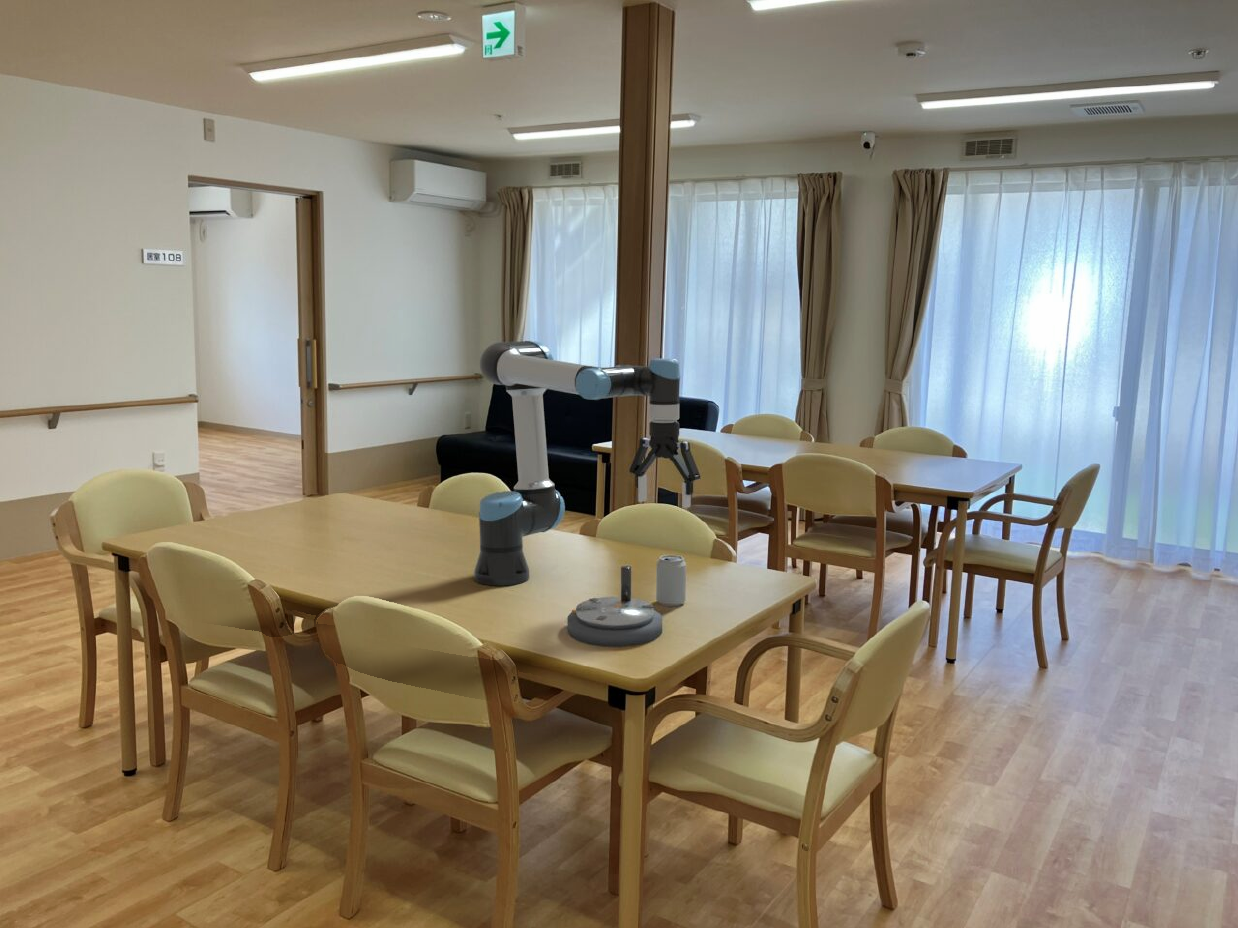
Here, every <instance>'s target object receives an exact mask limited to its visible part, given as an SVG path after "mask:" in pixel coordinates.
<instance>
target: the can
mask: <svg viewBox="0 0 1238 928" xmlns="http://www.w3.org/2000/svg"><path fill="white" fill-rule="evenodd" d="M658 559H659V560H658V561H657V562H656V581H655V582H656V590H655V591H656V592H655V593H656V596H655V598H656V599H655V600H656V601H657V603H659V605H661V606H664V607H678V606H682V605H683V604H684V603H685V602H686V600H687V599H686V597H687V596H686V594H687V593H686V590H687V589H686V588H687V585H686V584H687V563H686V562H685V561H684V560H685V558H684V557H683V556H682V555H677V554H664V555H661V556H659V558H658Z"/></svg>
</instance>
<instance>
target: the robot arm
mask: <svg viewBox="0 0 1238 928" xmlns="http://www.w3.org/2000/svg"><path fill="white" fill-rule="evenodd" d="M479 369H480V372H481V374H482V376H483V378H485V379H486V380H487V381H488V382H489V383H492V384H494V385H499V386H501V385H502V386H505V391H506V392H507V394H509V395H510V397H511V400H512V412H513V413H512V414H513V415H512V416H513V424H514V425H513V427H514V437H515V438H514V439H515V441H514V442H515V451H516V453H515V454H516V463H517V464H516V466H517V476H518V477H517V478H518V479H517V480H518V481H517V483H516V484H515V485H514V486H513V491H511V490H510V491H509V490H508V491H506V490H504V491H500V492H499V491H497V492H493V493H490V494H488V495H486V496H483V498H482V499H481V500H480V501H479V511H478V521H479V555H478V558H477V561H476V565H475V566H474V572H473V579H474V582H476V581H477V582H476V583H479V584H481V585H487V586H510V585H517V584H522V583H524V582H526V581H528V580H529V579H530V568H529V565H528V561H527V559H526V556H525V554H524V551H523V550H524V549H523V543H524V542H523V537H526V536H531V535H536V534H538V533H539V534H540V533H546V532H548V531H550V530H553V529H555V528H556V527H558V526H559V524H560V523H561V522H562V521H563V519H564V515H565V512H566V511H565V509H566V506H565V500H564V498H563V496H561V495H562V494H560V492H559V491H558V490H556V487H555V483H554V482H553V481H552V480H551V479H550V478H549V477H550V476H549V466H548V464H549V463H548V462H549V461H548V450H547V437H546V424H545V423H546V421H545V411H544V410H545V409H544V396H543V395H544V394H545V392H546V391H547V390H553V391H557V392H562V393H568V394H575V395H579V396H580V397H582V398H583V399H585V400H592V401H593V400H594V401H599V400H601V399H609V398H620V397H627V396H629V397H630V396H641V397H642V396H643V397H644V396H645V397H648V398H649V401H648V402H649V404H648V405H649V406H648V407H649V408H648V409H649V410H648V411H649V412H648V414H649V415H648V417H649V418H648V419H649V420H651V421H650V422H649V423H648V424H649V427H648V431H649V436H650V438H649V437H643V438H640V439H639V444H638V448H637V451H636V452H635V453H636V454H635V456H634V458H633V460H632V462H631V465H630V467H629V473H631V474H634V475H635V488H636V489H638V491H637V493H638V494H637V501H638V502H639V503H642V502H645V501H648V476H647V475H646V472H647V471H648V470H649V468H650V467H651V465H653V463H654V462H655V460H656V459H657V458H663V459H669V460H670V461H671V462H672V463H673V464H674V466H675V468H676V470H678V472H679V474H680V475H681V477H682V479H683V480H684V481H682V483H681V509H688V508H691V505H692V503H691V502H692V499H691V498H692V496H691V495H693V494H694V482H695V481H698V480H700V479H701V474H700V472H699V469H698V466H697V464H696V462H695V461H696V460H694V459H695V458H694V456H693V454H692V451H691V446H690V445H691V444H690V442H689V441H682V442H681V441H679V436H680V423H679V421H678V420H679V419H680V386H681V385H680V384H681V383H680V382H681V373H680V363H679V361H678V359H675V358H652V359H650V361H649V365H647V366H645V365H643V366H642V365H630V364H620V365H615V366H610V367H608V366H607V367H602V366H601V367H599V366H592V365H587V364H580V363H573V362H568V361H567V362H566V361H561V360H555V359H554V357H553V354H552V353H551V350H549V348H548V347H546V345H545V344H544V343H542V342H540V341H531V340H523V341H507V342H506V341H503V342H502V341H500V342H499V341H498V342H495V343H492V344H490V345H489V346H487V347H486V348H485V349H484V350H483V352H482V354H481V356H480V360H479ZM649 447H650V450H649V452H648V449H649ZM679 451H680V452H679ZM647 452H648V453H647ZM646 455H647V456H646ZM645 456H646V458H645Z"/></svg>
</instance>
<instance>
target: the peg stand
mask: <svg viewBox="0 0 1238 928" xmlns="http://www.w3.org/2000/svg"><path fill="white" fill-rule="evenodd" d="M575 610H576V619H577V620H578V621H579V622H580V623H582V624H584V625H587V626H590V627H594V628H600V629H630V628H636V627H640V626H643V625H646V624H648V623H650V622H651V621H652V620H653V618H654V610H655V608H654V605H653V604H651V603H650V602H648V601H645V600H643V599H639V598H635V597H632V567H631V566H630V565H623V566H620V596H603V597H602V596H601V597H593V598H589V599H587V600H584V601H581V602H580V603H578V604H577V605H576V607H575Z"/></svg>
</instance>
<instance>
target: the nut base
mask: <svg viewBox="0 0 1238 928" xmlns="http://www.w3.org/2000/svg"><path fill="white" fill-rule="evenodd" d="M566 619H567V620H566V621H567V622H566V623H567V628H566V629H567V630H568V631H567V634H568V635H569V636H570V637H571V638H572V639H573V638H574V640H575V641H577V640H578V642H579V643H583V644H588V645H591V646H599V647H607V646H608V647H613V648H619V647H622V646H623V647H632V646H638V645H643V644H647V643H650V642H652V641H655V640H657V639H658V638H659V637H660V636H661V635H662V633H663V616H662V615H661V613H660V612H658V611H657V610H655V609H654V618H653V620H652V621H651V622H650V623H648V624H646V625H643V626H640V627H636V628H630V629H600V628H594V627H590V626H587V625H584V624H582V623H580V622H579V621H578V620H577V619H576V609H575V608H574V609H571V612H570V613H569V614H568V615H567V618H566Z"/></svg>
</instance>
